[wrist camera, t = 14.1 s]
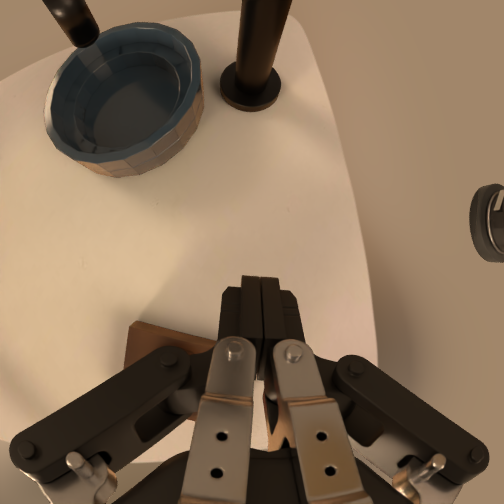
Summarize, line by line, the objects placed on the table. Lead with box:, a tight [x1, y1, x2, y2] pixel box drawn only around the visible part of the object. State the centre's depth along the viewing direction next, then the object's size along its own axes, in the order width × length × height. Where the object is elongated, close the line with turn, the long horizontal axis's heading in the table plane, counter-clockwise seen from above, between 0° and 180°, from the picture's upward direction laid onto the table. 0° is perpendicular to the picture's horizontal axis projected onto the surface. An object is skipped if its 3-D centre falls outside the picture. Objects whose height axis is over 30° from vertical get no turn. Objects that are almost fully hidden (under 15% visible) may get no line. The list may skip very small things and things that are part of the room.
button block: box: [124, 320, 217, 421], centre depth 25 cm, size 10×8×4 cm
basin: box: [44, 22, 204, 178], centre depth 23 cm, size 15×15×6 cm
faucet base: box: [220, 0, 292, 112], centre depth 18 cm, size 6×6×18 cm
